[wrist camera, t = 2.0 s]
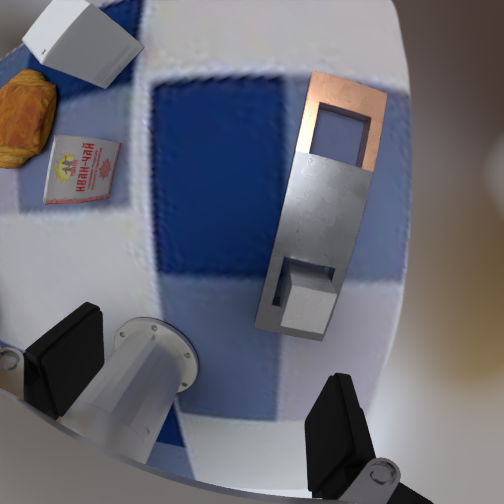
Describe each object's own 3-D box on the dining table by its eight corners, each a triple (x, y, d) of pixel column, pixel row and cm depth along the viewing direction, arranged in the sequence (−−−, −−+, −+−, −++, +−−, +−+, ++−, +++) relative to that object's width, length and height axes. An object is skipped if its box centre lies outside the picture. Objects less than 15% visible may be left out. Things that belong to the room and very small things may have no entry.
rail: (319, 330, 33) (322, 341, 31) (255, 317, 33) (253, 327, 31) (379, 99, 26) (387, 93, 23) (309, 78, 26) (312, 70, 23)
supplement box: (146, 47, 26) (92, 3, 14) (105, 91, 28) (38, 66, 15) (117, 24, 25) (65, -15, 13) (80, 65, 27) (19, 40, 14)
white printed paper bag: (86, 190, 31) (32, 199, 21) (98, 138, 29) (44, 132, 20) (108, 197, 31) (55, 208, 21) (121, 143, 29) (68, 136, 20)
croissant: (7, 155, 33) (-27, 163, 25) (26, 68, 27) (-10, 67, 19) (51, 177, 33) (11, 189, 26) (76, 74, 27) (34, 69, 19)
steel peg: (313, 298, 32) (323, 333, 25) (279, 290, 32) (280, 325, 25) (323, 266, 31) (337, 294, 23) (288, 258, 31) (292, 285, 24)
